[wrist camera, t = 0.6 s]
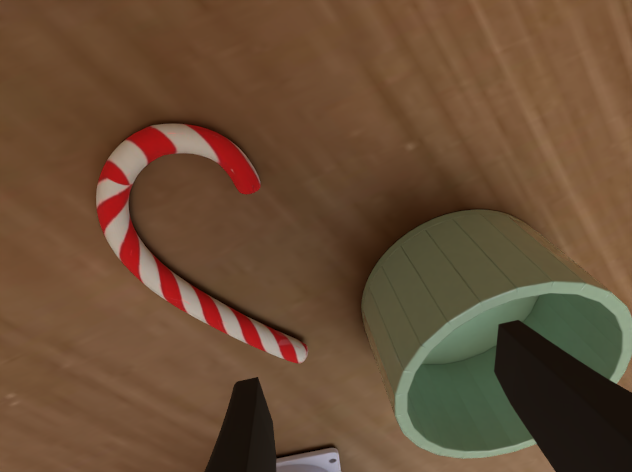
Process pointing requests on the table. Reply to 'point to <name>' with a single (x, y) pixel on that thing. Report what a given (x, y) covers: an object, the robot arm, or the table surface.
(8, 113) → the table surface
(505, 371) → the robot arm
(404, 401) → the green round bowl
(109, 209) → the candy cane
